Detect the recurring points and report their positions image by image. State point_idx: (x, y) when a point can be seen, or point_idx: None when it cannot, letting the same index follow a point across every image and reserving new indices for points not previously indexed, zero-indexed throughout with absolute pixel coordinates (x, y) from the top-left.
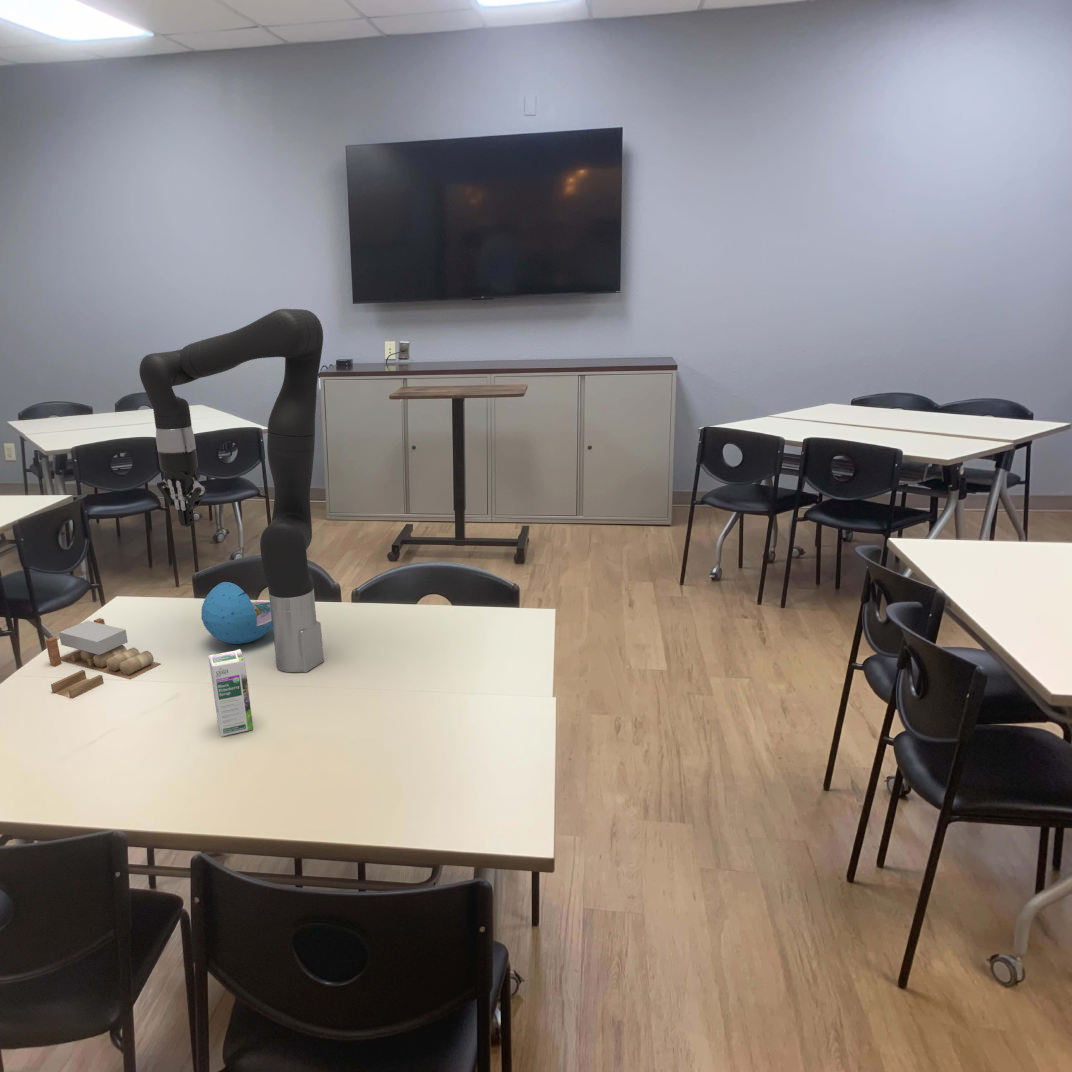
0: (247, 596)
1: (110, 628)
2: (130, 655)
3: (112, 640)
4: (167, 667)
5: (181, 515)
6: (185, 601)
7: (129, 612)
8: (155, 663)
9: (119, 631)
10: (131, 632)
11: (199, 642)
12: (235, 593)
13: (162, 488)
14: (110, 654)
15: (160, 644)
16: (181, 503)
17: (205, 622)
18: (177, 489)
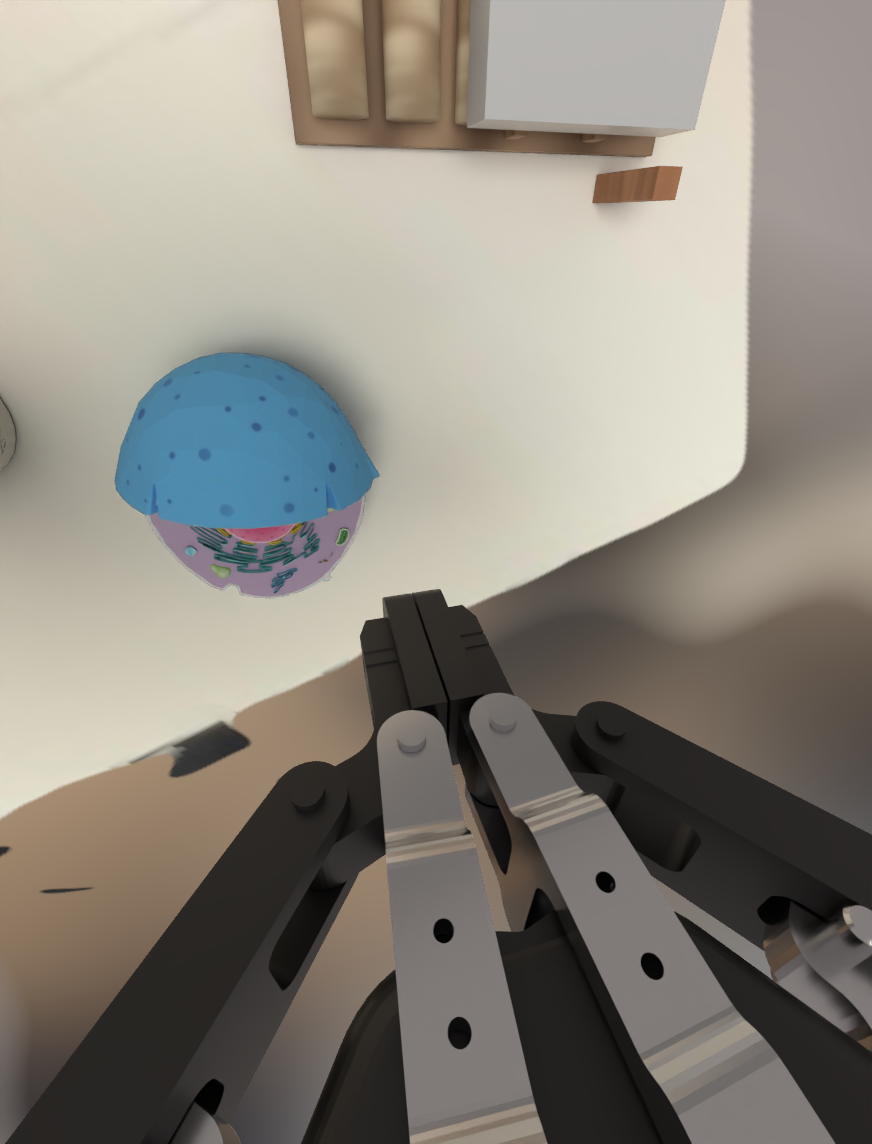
0: (139, 508)
1: (553, 95)
2: (391, 58)
3: (481, 19)
4: (284, 159)
5: (435, 659)
6: (594, 534)
7: (684, 423)
8: (318, 132)
9: (493, 83)
10: (599, 329)
11: (364, 376)
12: (170, 488)
13: (862, 893)
14: (469, 18)
15: (459, 305)
16: (440, 788)
17: (265, 358)
18: (570, 1022)
